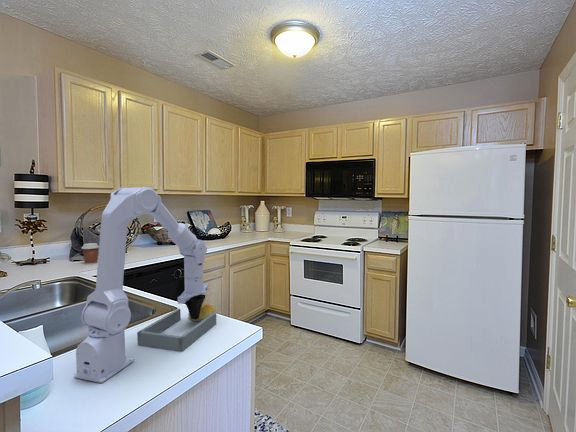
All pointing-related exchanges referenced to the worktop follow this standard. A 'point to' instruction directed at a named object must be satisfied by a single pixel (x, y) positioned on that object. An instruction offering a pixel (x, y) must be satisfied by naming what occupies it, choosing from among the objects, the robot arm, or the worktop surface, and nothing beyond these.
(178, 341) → the open-side box
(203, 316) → the bread roll
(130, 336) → the worktop surface
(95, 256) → the coffee cup
